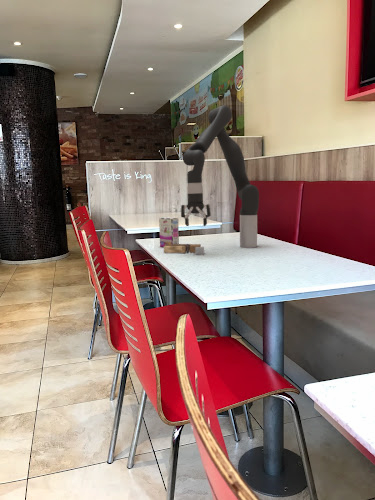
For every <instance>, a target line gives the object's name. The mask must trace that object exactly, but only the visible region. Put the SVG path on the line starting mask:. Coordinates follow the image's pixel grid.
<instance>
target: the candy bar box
mask: <svg viewBox="0 0 375 500" xmlns="http://www.w3.org/2000/svg"><path fill="white" fill-rule="evenodd" d="M158 220H159V221H158V222H159V225H158V226H159V247H160V248H163V249H164V246H166V244H179V243H180V242H179V241H180V240H179V237H180V236H179V235H180V234H179V232H180V231H179V230H180V229H179V217H159V219H158Z"/></svg>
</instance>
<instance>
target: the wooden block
mask: <svg viewBox="0 0 375 500" xmlns="http://www.w3.org/2000/svg"><path fill="white" fill-rule="evenodd" d="M201 245H202V244H201V243H198V244H197V243H192V244H191V243H180V244H166V246H186V253H185V254H189V253H190V254H191V253H193V254H195V248H196V247H202V246H201Z"/></svg>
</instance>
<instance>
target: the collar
mask: <svg viewBox="0 0 375 500" xmlns="http://www.w3.org/2000/svg"><path fill="white" fill-rule="evenodd" d="M194 254H195V255H194V256H202V255H203V256H204V255H205V246H201V247H196V248H195V253H194Z"/></svg>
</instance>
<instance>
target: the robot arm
mask: <svg viewBox="0 0 375 500" xmlns="http://www.w3.org/2000/svg"><path fill="white" fill-rule="evenodd" d="M232 113H233V112H232V110H231V108H230V107H229V106H227V105H225V104H223V105H220V106H218V107H215V108H214V109H211V110H210V111H209V112H208V114H207V115H208V122H209V125H208V126H207V127H206V128H205V129H204V130H203V131H202V132H201V133H200V134H199V136H198V138H197V139H196V140H195V142H193V144H191V145H190V146H189V147H188V148H187V149H185V151H184V152H183V155H182V161H183V163H184V164H185V165H186V166H193V168H192V169H191V170H188V171H187V174H186V176H187V178H186V180H187V182H186V183H187V186H186V192H187V193H186V195H187V204H182V205H180V207H181V208H180V216H181V217H180V218H183V219H184V224H185V226H186V227H189V226H190V224H189V223H190V219H189V217H190V215H192V214H196V215H198V214H200V215H201V216H202V218H203V219H202V221H203V222H202V223H203V224H202V226H203V227H205V226H207V224H208V218H209V217H211V215H212V214H211V206H210V204H209V203H207V204H204V189H203V175H202V174H203V170H204V165H205V161H206V156H205V153H206V152H207V151H208V150H209V148H210V147H211V145H212V143H213V142H214V140H215V139H217V141H218V143H219V146H220V148H221V151H222V153H223V156H224V159H225V162H226V165H227V166H228V169H229V171H230V173H231V176H232V178H233V181H234V183H235V188H236V193H237V196H238V198H239V199H240V200H241V207H240V210H239V248H247V249H248V248H249V249H251V248H253V249H254V248H257V247H258V211H259V207H260V206H259V205H260V204H259V203H260V193H259V192H260V191H259V189H258V187H257V186H256V185H254V184H251V182H250V181H249V178H248V175H247V171H246V163H245V161H246V160H245V157H244V154H243V151H242V148H241V147H240V145H239V144H238V143H237V141H235V140H234V139H233V138H232V137H231V136H230V135H229V133H228V132H227V130H226V129H225V127H226V125H228V124H229V123H230V122H231V121H232V117H233V114H232ZM186 209H187V210H188V211H187V212H186ZM204 209H205V210H206V213H205V211H204Z"/></svg>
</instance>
